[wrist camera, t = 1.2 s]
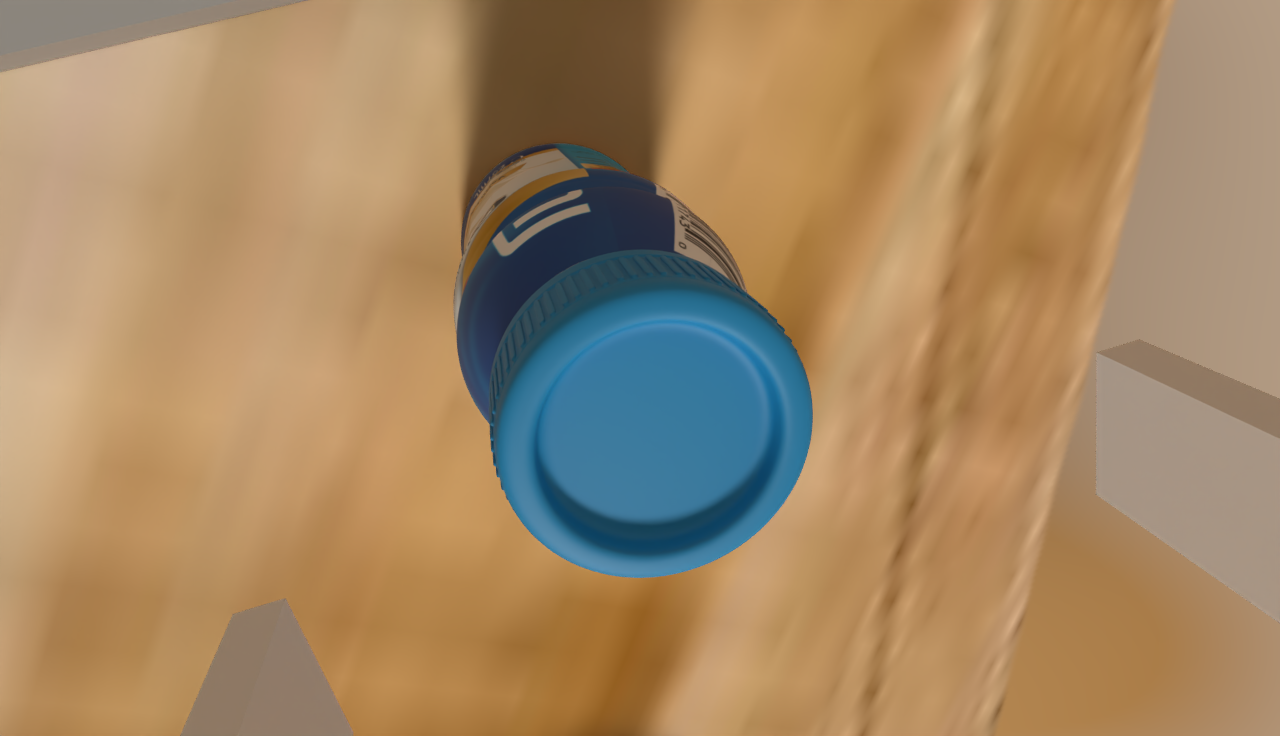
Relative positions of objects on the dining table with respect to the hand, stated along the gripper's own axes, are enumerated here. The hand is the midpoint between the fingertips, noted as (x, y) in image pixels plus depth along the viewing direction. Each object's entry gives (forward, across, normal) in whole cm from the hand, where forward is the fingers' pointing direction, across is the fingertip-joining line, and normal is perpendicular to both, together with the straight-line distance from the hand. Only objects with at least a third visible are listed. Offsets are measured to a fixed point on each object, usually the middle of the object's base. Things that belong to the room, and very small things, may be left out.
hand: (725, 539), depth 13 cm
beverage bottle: (+24, 0, 0) cm, 24 cm away
